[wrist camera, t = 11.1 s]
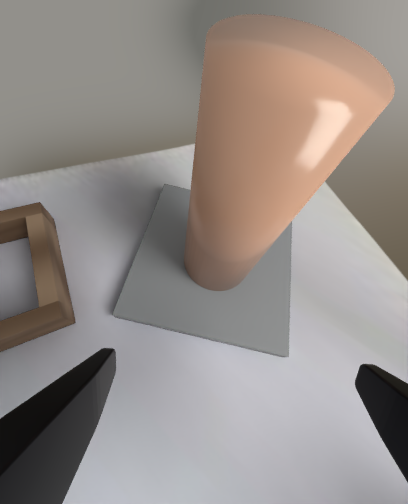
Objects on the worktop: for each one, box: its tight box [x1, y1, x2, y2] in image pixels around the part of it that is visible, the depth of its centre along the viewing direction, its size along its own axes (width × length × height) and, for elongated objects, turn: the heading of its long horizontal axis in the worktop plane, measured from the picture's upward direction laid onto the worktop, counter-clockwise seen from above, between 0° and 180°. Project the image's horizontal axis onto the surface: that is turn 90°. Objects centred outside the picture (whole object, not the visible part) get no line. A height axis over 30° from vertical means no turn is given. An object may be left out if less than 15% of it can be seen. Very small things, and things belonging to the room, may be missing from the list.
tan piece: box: [184, 14, 395, 291], centre depth 14 cm, size 9×6×15 cm
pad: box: [112, 184, 292, 357], centre depth 21 cm, size 14×14×1 cm
